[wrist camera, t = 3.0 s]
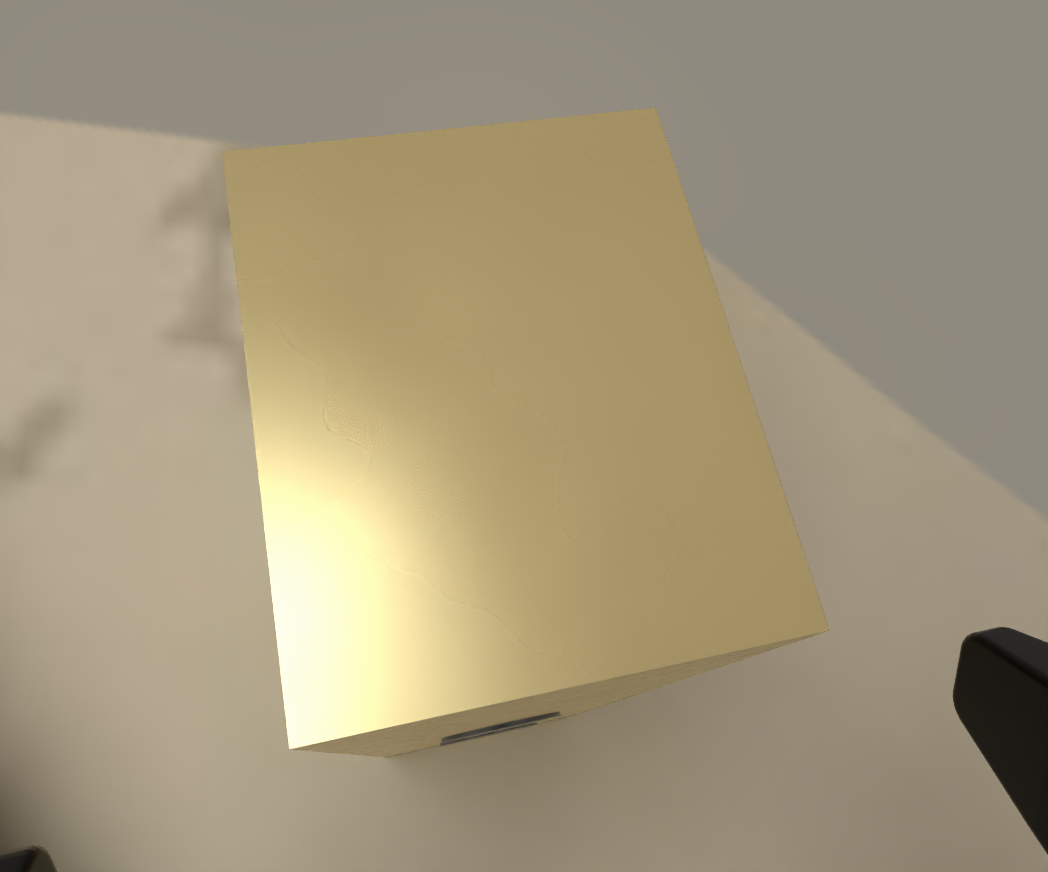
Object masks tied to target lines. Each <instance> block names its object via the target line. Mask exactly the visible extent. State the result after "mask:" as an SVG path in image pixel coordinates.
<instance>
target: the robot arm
mask: <svg viewBox="0 0 1048 872" xmlns="http://www.w3.org/2000/svg"><path fill="white" fill-rule="evenodd" d="M953 702H954V706H955V709H956V712H957V714H958V716H959V718H960V720H961V722H962V723H963V725H964V726H965V728H966V729H967V731H968V732H969V734H970V736H971V737H972V739H973V740H974V742H975V743H976V745H977V747H978V748H979V750H980V751H981V753H982V754H983V756H984V757H985V759H986V761H987V762H988V764H989V765H990V767H991V768H992V770H993V771H994V773H995V775H996V776H997V778H998V779H999V781H1000V782H1001V784H1002V785H1003V787H1004V789H1005V790H1006V792H1007V793H1008V795H1009V796H1010V798H1011V800H1012V801H1013V803H1014V804H1015V806H1016V807H1017V809H1018V810H1019V812H1020V814H1021V815H1022V817H1023V818H1024V820H1025V821H1026V823H1027V824H1028V826H1029V828H1030V829H1031V831H1032V832H1033V834H1034V835H1035V837H1036V838H1037V839H1038V841H1039V842H1040V844H1041V845H1042V847H1043V848H1044V850H1045V851H1046V853H1047V854H1048V643H1047V642H1044V641H1042V640H1039V639H1037V638H1034V637H1032V636H1029V635H1026V634H1024V633H1021V632H1019V631H1016V630H1014V629H1011V628H1006V627H997V628H993V629H988V630H984V631H980V632H975V633H971V634H970V635H968V636H967V637H966V638H965V639H964V641H963V643H962V646H961V651H960V656H959V662H958V667H957V673H956V678H955V683H954V689H953ZM0 872H57V870H56V868H55V866H54V863H53V861H52V859H51V857H50V855H49V854H48V852H47V851H46V850H45V849H44V848H43V847H41V846H29V847H25V848H21V849H16V850H12V851H7V852H3V853H0Z"/></svg>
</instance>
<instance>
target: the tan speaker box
mask: <svg viewBox="0 0 1048 872" xmlns="http://www.w3.org/2000/svg"><path fill="white" fill-rule="evenodd" d="M222 155H223V163H224V172H225V181H226V190H227V199H228V208H229V217H230V226H231V234H232V243H233V252H234V261H235V270H236V279H237V288H238V297H239V306H240V314H241V323H242V332H243V341H244V350H245V359H246V368H247V377H248V386H249V394H250V403H251V412H252V421H253V430H254V439H255V448H256V457H257V466H258V474H259V483H260V492H261V501H262V510H263V519H264V528H265V537H266V545H267V554H268V563H269V572H270V581H271V590H272V599H273V608H274V617H275V625H276V634H277V643H278V652H279V661H280V670H281V679H282V688H283V697H284V705H285V714H286V723H287V732H288V741H289V749H294V750H305V751H317V752H328V753H340V754H351V755H362V756H374V757H385V758H386V757H390V756H395V755H399V754H404V753H408V752H413V751H417V750H421V749H426V748H430V747H435V746H439V745H440V746H444V745H449V744H454V743H458V742H463V741H467V740H472V739H477V738H481V737H485V736H490V735H494V734H499V733H503V732H507V731H512V730H516V729H520V728H524V727H528V726H532V725H536V724H537V723H541V722H545V721H550V720H554V719H559V718H563V717H568V716H572V715H575V714H578V713H581V712H585V711H588V710H591V709H594V708H597V707H600V706H603V705H606V704H609V703H612V702H615V701H618V700H621V699H624V698H627V697H630V696H633V695H636V694H639V693H642V692H645V691H648V690H651V689H654V688H657V687H660V686H663V685H666V684H669V683H672V682H675V681H678V680H681V679H684V678H687V677H690V676H693V675H696V674H699V673H702V672H705V671H708V670H711V669H714V668H717V667H720V666H723V665H727V664H730V663H733V662H736V661H739V660H742V659H745V658H748V657H751V656H754V655H757V654H760V653H763V652H766V651H769V650H772V649H775V648H778V647H781V646H784V645H787V644H790V643H793V642H796V641H799V640H802V639H805V638H808V637H811V636H814V635H817V634H820V633H823V632H826V631H829V628H828V625H827V622H826V619H825V616H824V613H823V610H822V607H821V604H820V601H819V598H818V595H817V592H816V589H815V585H814V582H813V579H812V576H811V573H810V570H809V567H808V564H807V561H806V558H805V555H804V552H803V549H802V546H801V543H800V540H799V537H798V534H797V531H796V528H795V525H794V522H793V519H792V516H791V513H790V510H789V507H788V504H787V501H786V498H785V495H784V492H783V489H782V486H781V483H780V480H779V477H778V474H777V471H776V468H775V465H774V462H773V459H772V456H771V453H770V450H769V447H768V444H767V441H766V438H765V435H764V432H763V429H762V426H761V423H760V420H759V417H758V414H757V411H756V408H755V405H754V402H753V399H752V396H751V393H750V390H749V387H748V384H747V381H746V378H745V375H744V372H743V369H742V366H741V363H740V360H739V357H738V354H737V351H736V348H735V345H734V342H733V339H732V336H731V333H730V330H729V327H728V324H727V321H726V318H725V315H724V312H723V309H722V306H721V303H720V300H719V297H718V294H717V291H716V288H715V285H714V282H713V279H712V276H711V273H710V270H709V266H708V263H707V260H706V257H705V254H704V251H703V248H702V245H701V242H700V240H699V236H698V233H697V231H696V228H695V225H694V221H693V218H692V215H691V212H690V209H689V206H688V203H687V200H686V197H685V194H684V191H683V188H682V185H681V182H680V179H679V176H678V173H677V171H676V167H675V164H674V161H673V158H672V155H671V152H670V149H669V146H668V143H667V140H666V137H665V134H664V131H663V128H662V125H661V122H660V119H659V116H658V113H657V110H656V108H649V109H638V110H628V111H618V112H609V113H599V114H588V115H579V116H569V117H559V118H550V119H539V120H530V121H520V122H511V123H500V124H490V125H480V126H471V127H461V128H451V129H442V130H431V131H422V132H411V133H402V134H392V135H382V136H373V137H362V138H352V139H343V140H333V141H323V142H313V143H303V144H293V145H284V146H274V147H264V148H254V149H244V150H234V151H224V152H222Z"/></svg>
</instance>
